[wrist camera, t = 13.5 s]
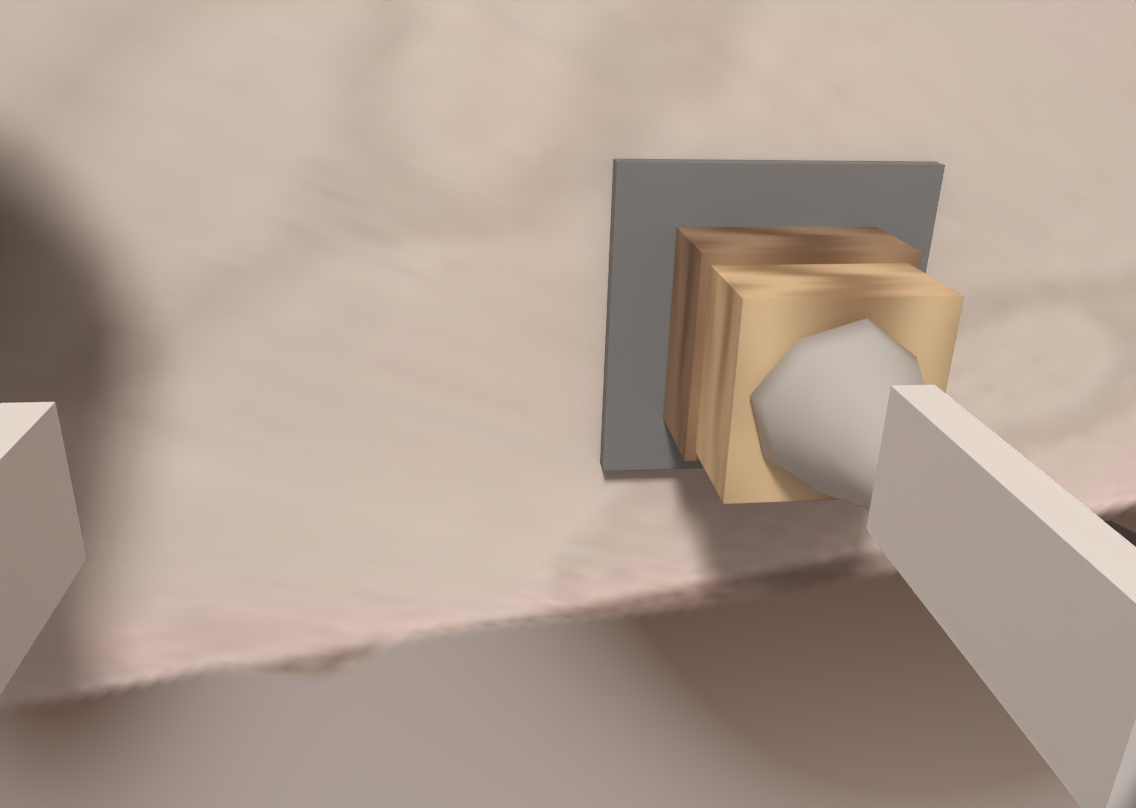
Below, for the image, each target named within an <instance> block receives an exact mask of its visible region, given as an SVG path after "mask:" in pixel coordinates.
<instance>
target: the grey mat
mask: <svg viewBox="0 0 1136 808" xmlns="http://www.w3.org/2000/svg"><path fill="white" fill-rule="evenodd" d="M944 167H945V165H943V164H940V163H937V162H904V161H791V160H678V159H614V161H613V184H612V206H611V229H610V251H609V274H608V297H607V319H606V342H605V365H604V387H603V410H602V432H601V455H600V463H601V466H602V470H603V471H615V470H650V469H684V468H704V467H703V465H702V463H701V461H700V460H698V461H685V460H684V458H683V456H682V454H681V452H680V450H679V448H678V446H677V444H676V442H675V440H674V439H673V437H672V435H671V433H670V431H669V429H668V427H667V425H666V423H665V421H664V419H663V412H664V397H665V383H666V369H667V355H668V341H669V327H670V312H671V298H672V284H673V270H674V256H675V242H676V227H878V228H879V229H881V230H883V231H885V232H887V233H889V234H890V235H892V236H894V237H896V238H898V239H900V240H901V241H903V242H905V243H907V244H909V245H910V246H912V247H914V248H916V249H918V250H920V251H921V252H922V258H921V264H920V269H919V270H921V271H922V272H924V273H926V268H927V263H928V257H929V251H930V246H931V240H932V235H933V229H934V223H935V218H936V212H937V207H938V201H939V195H940V190H941V184H942V179H943V173H944Z"/></svg>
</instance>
